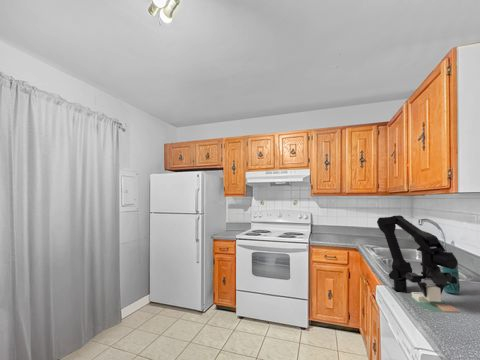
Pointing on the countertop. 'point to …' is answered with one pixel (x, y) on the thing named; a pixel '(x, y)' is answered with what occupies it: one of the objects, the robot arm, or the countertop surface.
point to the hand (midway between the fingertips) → (432, 297)
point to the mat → (431, 305)
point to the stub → (433, 293)
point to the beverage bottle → (452, 287)
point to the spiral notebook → (419, 297)
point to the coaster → (447, 308)
